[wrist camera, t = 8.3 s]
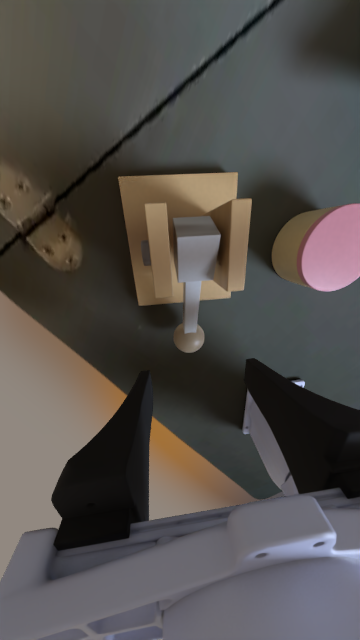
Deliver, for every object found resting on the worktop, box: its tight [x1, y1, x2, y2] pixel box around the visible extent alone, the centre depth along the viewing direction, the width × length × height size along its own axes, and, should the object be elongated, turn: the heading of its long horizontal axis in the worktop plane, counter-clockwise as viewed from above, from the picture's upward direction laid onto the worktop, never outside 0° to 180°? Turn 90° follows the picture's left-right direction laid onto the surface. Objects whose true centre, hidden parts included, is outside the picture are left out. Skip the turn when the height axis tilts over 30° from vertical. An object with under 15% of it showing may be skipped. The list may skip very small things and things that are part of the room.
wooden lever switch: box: [118, 172, 252, 306], centre depth 13 cm, size 10×9×8 cm
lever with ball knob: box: [173, 216, 221, 353], centre depth 14 cm, size 12×3×3 cm, turn 3°
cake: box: [272, 203, 360, 291], centre depth 16 cm, size 6×6×4 cm
